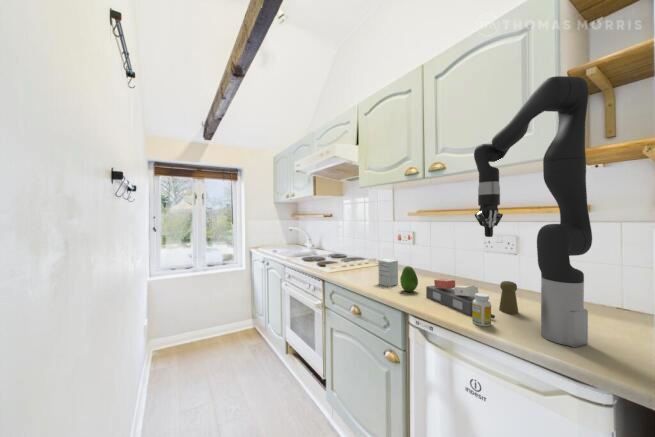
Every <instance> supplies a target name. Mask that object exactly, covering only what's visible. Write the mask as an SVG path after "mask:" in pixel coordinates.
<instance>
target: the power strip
mask: <svg viewBox="0 0 655 437" xmlns="http://www.w3.org/2000/svg"><path fill="white" fill-rule="evenodd" d="M425 290H426V294H425V297H426V298H428V299H431V300H433V301H434V302H438V303H439V304H442V305H443V306H447V307H449V308H451V309H453V310H456V311H459V312H461V313H463V314H465V315H468V316H472V303H473V300H475V296H462V295H455V291H454V288H450V289H444V288H438V287H435V285H428V286H426V287H425ZM495 318H496V315H495V314H492V313H491V319H493V320H494V319H495Z"/></svg>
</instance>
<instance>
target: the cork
mask: <svg viewBox="0 0 655 437" xmlns="http://www.w3.org/2000/svg"><path fill="white" fill-rule="evenodd" d="M499 287H500V289H501V295H500V300H499V307H498V310H499V312H501V313H503V314H507V315H517V314H519V307H518V300H517V293H516V292H517V290H518V285H517V283H515V282H514V281H509V280H504V281H501V282H500V286H499Z"/></svg>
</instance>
